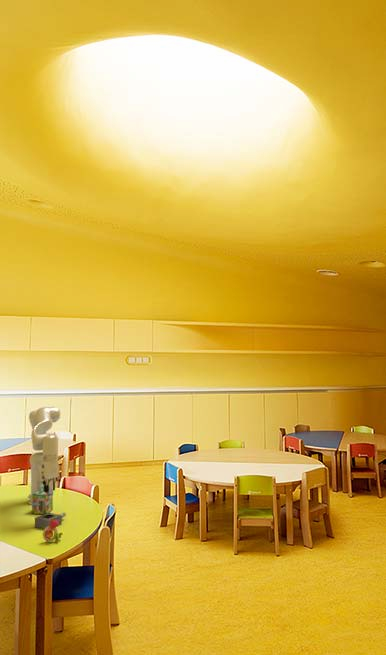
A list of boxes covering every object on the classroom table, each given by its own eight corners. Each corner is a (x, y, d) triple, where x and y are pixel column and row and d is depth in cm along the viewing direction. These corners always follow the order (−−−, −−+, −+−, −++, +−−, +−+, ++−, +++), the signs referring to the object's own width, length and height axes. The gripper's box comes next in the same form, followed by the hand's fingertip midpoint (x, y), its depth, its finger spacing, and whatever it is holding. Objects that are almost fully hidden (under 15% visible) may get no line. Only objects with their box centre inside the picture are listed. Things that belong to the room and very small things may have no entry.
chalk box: (45, 514, 267) (45, 489, 269) (31, 514, 269) (31, 488, 270) (53, 510, 276) (53, 485, 278) (39, 509, 278) (40, 484, 279)
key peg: (43, 495, 251) (43, 476, 252) (49, 493, 255) (49, 474, 256) (49, 496, 249) (49, 476, 250) (55, 494, 253) (55, 475, 254)
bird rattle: (46, 549, 221) (64, 540, 223) (37, 528, 221) (55, 519, 223) (48, 544, 227) (65, 535, 229) (39, 524, 227) (56, 515, 229)
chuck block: (34, 527, 246) (34, 517, 247) (58, 518, 261) (58, 509, 261) (47, 530, 241) (47, 520, 242) (70, 520, 256) (70, 511, 257)
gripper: (42, 460, 245) (42, 495, 243) (65, 455, 259) (65, 488, 257) (33, 459, 248) (32, 494, 246) (55, 454, 263) (55, 487, 261)
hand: (49, 490), depth 252 cm, fingers closed on key peg, 4 cm apart
